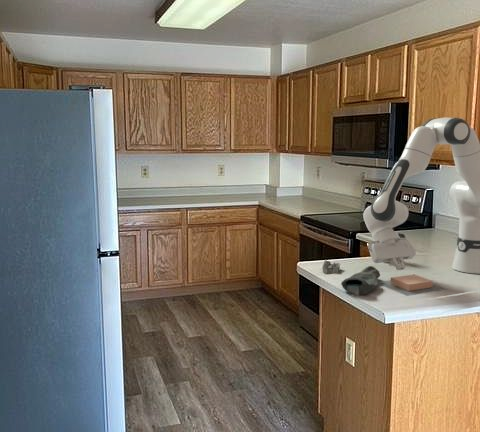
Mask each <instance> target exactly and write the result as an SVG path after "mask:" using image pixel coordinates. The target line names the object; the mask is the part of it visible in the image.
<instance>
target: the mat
mask: <svg viewBox="0 0 480 432" xmlns="http://www.w3.org/2000/svg"><path fill="white" fill-rule="evenodd" d="M390 282H391V279H390V280H389V279H388V280H382V281H378V284H377V285H380V286H382V287H384V288H387V289H389V290H392V291H394V292H397V293H400V294H401V295H404V296H407V297H408V296H413V295H421V294H426V293H427V294H429V293H432V292H439V291H446V290H448V288H445V287H443V286H441V285H437V284H435V283H433V287H431V288H425V289H418V290H412V291H407V290H405V289H402V288H400V287H397V286H395V285H392V284H390Z"/></svg>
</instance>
